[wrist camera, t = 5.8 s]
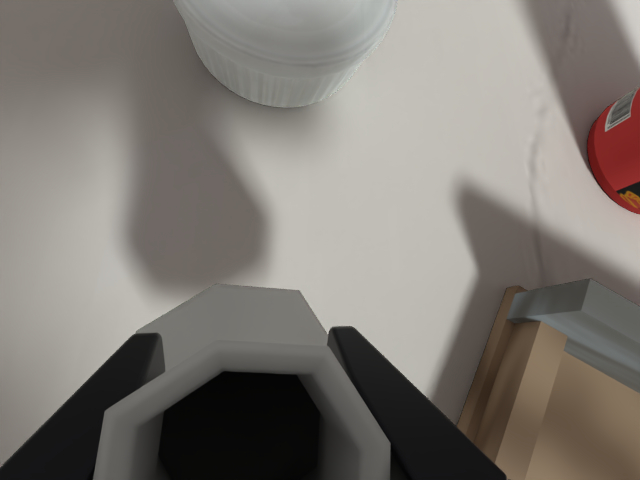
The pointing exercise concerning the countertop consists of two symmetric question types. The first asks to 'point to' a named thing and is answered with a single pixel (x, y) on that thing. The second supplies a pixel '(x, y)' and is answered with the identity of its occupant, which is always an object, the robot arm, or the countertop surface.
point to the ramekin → (285, 44)
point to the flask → (243, 399)
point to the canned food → (618, 151)
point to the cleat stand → (560, 385)
